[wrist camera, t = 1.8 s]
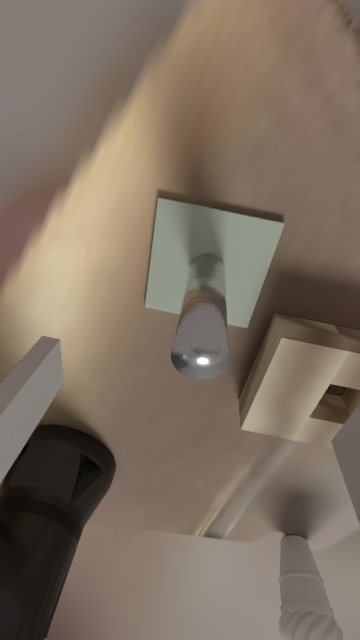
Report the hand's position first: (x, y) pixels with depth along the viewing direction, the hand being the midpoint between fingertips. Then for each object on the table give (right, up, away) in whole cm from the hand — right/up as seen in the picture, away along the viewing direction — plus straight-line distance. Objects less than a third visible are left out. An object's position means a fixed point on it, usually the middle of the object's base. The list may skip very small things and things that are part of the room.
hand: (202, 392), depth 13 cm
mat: (+1, +8, +13) cm, 15 cm away
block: (+15, -3, +18) cm, 23 cm away
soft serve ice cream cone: (+18, -34, +37) cm, 54 cm away
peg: (+1, +8, +12) cm, 15 cm away
